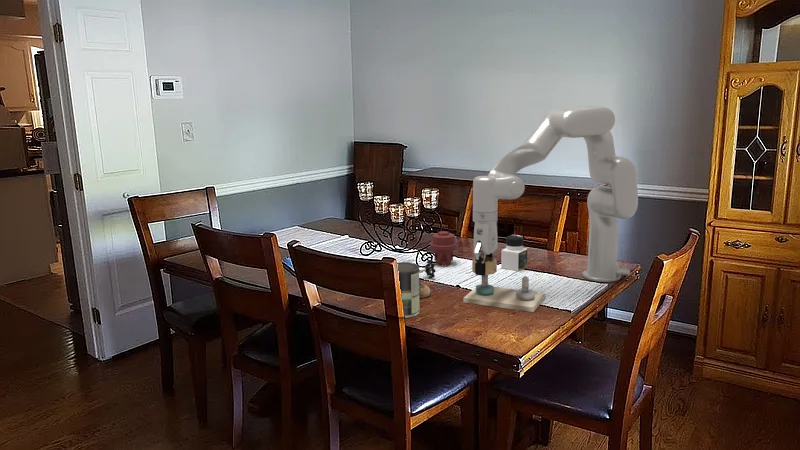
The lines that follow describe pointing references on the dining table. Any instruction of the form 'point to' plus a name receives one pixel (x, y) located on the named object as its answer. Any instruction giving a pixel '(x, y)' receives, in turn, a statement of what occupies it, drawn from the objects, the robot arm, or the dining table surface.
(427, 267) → the valve
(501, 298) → the hub board
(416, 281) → the coffee can
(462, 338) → the dining table surface
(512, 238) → the medicine bottle
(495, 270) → the ring
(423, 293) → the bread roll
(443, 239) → the mechanical component
